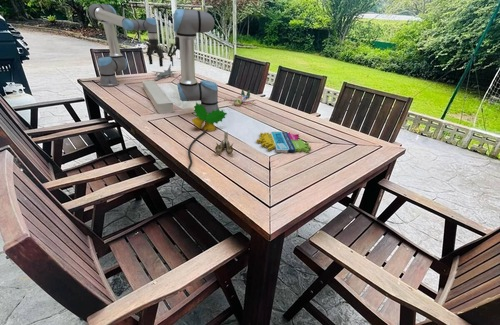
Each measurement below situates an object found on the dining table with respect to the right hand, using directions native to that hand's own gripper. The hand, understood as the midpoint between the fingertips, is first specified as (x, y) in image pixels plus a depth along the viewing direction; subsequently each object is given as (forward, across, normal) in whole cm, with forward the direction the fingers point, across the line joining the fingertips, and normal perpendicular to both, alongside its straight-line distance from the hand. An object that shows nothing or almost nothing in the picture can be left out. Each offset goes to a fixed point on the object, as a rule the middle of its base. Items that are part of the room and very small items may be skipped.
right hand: (181, 66), depth 208 cm
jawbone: (+26, -13, +103) cm, 107 cm away
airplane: (+25, +13, -81) cm, 86 cm away
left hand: (+5, +20, -31) cm, 37 cm away
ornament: (+26, -10, +71) cm, 76 cm away
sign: (+26, -48, +98) cm, 113 cm away
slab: (+26, +22, +2) cm, 33 cm away
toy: (+26, -47, +15) cm, 55 cm away
